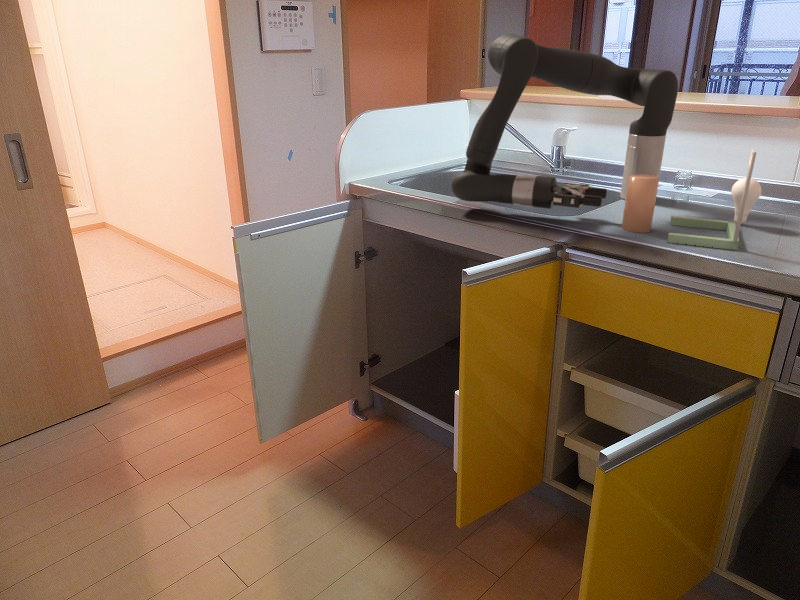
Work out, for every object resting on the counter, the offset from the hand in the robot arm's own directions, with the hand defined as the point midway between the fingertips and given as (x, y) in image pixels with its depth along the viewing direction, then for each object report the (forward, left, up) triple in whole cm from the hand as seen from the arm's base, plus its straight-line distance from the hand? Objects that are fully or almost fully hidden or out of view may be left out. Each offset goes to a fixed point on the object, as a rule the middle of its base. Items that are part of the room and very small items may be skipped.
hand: (604, 197), depth 144 cm
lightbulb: (-14, +30, -7) cm, 34 cm away
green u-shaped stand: (0, +21, -7) cm, 22 cm away
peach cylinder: (0, +8, -7) cm, 10 cm away
